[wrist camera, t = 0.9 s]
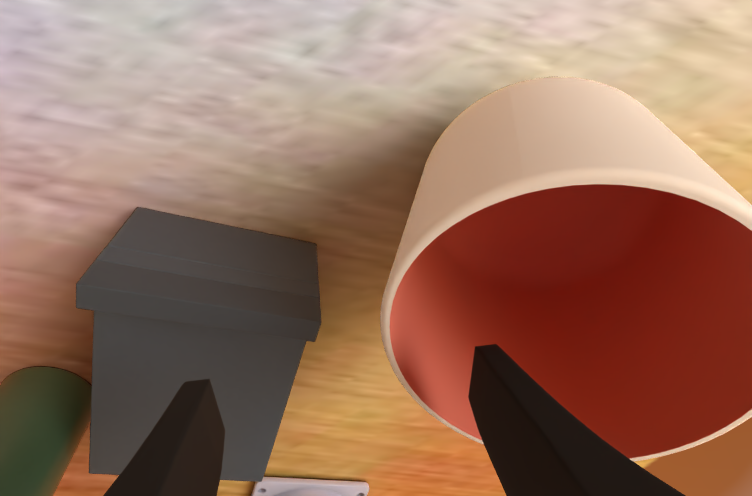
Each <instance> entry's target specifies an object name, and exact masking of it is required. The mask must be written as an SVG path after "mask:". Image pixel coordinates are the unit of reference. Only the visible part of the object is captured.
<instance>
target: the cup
mask: <svg viewBox="0 0 752 496" xmlns="http://www.w3.org/2000/svg"><path fill="white" fill-rule="evenodd" d="M380 323H381V335H382V341H383V345H384V349H385V352H386V354H387V357H388V359H389V362H390V364H391V366H392V369H393V371H394V372H395V374H396V376H397V378H398V379H399V381H400V382H401V384H402V385H403V386H404V388H405V389H406V390H407V392H408V393H409V394H410V395H411V396H412V397H413V398H414V399H415V400H416V402H417V403H418V404H419V405H421V406H422V407H423V408H424V409H425V410H426V411H427V412H428V413H430V414H431V415H432V416H433V417H435V418H436V419H438V420H439V421H440V422H442V423H443V424H445V425H446V426H448V427H450V428H451V429H453V430H454V431H456V432H458V433H460V434H462V435H464V436H466V437H468V438H470V439H472V440H474V441H476V442H479V443H481V444H483V445H484V443H483V441H482V438H481V436H480V434H479V431H478V428H477V424H476V421H475V418H474V415H473V412H472V408H471V405H470V402H469V398H468V395H469V388H470V380H471V373H472V365H473V358H474V350H475V346H483V345H491V344H497V345H498V346H499V347H500V348H501V349H502V350H503V351H504V352H505V353H506V354H507V355H508V356H510V357H511V358H512V359H513V360H514V361H515V362H516V363H517V364H518V365H519V366H520V367H521V368H522V369H523V370H524V371H525V372H526V373H527V374H528V375H529V376H530V377H531V378H532V379H533V380H534V381H535V382H536V383H538V384H539V385H540V386H541V387H542V388H543V389H544V390H545V391H546V392H547V393H548V394H550V395H551V396H552V397H553V398H554V399H555V400H556V401H557V402H558V403H560V404H561V405H562V406H563V407H564V408H565V409H566V410H568V411H569V412H570V413H571V414H572V415H573V416H575V417H576V418H577V419H578V420H579V421H581V422H582V423H583V424H584V425H585V426H587V427H588V428H589V429H590V430H592V431H593V432H594V433H595V434H597V435H598V436H599V437H600V438H602V439H603V440H604V441H606V442H607V443H608V444H609V445H611V446H612V447H614V448H615V449H616V450H618V451H619V452H621V453H622V454H623V455H625V456H626V457H627V458H629V459H630V460H632V461H639V460H645V459H651V458H655V457H660V456H664V455H668V454H672V453H676V452H679V451H682V450H685V449H688V448H691V447H694V446H697V445H699V444H701V443H704V442H707V441H709V440H711V439H713V438H716V437H717V436H720V435H722V434H724V433H726V432H728V431H729V430H731V429H733V428H734V427H736V426H738V425H740V424H741V423H743V422H744V421H746V420H747V419H749V418H750V417H752V205H751V204H750V203H749V202H748V201H747V200H746V199H745V198H743V197H742V196H741V195H740V194H739V193H738V192H737V191H736V190H735V189H734V188H733V187H732V186H730V185H729V184H728V183H727V182H726V181H725V180H724V179H723V178H722V177H721V176H720V175H719V174H717V173H716V172H715V171H714V170H713V169H712V168H711V167H710V166H709V165H708V164H707V163H706V162H704V161H703V160H702V159H701V158H700V157H699V156H698V155H697V154H696V153H695V152H694V151H693V150H691V149H690V148H689V147H688V146H687V145H686V144H685V143H684V142H683V141H682V140H681V139H679V138H678V137H677V136H676V135H675V134H674V133H673V132H672V131H671V130H670V129H669V128H668V127H666V126H665V125H664V124H663V123H662V122H661V121H660V120H659V119H658V118H657V117H656V116H654V115H653V114H652V113H651V112H650V111H649V110H648V109H647V108H646V107H645V106H643V105H642V104H641V103H639V102H638V101H637V100H635V99H634V98H632V97H631V96H629V95H627V94H626V93H624V92H622V91H621V90H618V89H616V88H613V87H611V86H609V85H606V84H603V83H599V82H596V81H592V80H588V79H582V78H575V77H545V78H536V79H531V80H526V81H522V82H518V83H515V84H512V85H509V86H506V87H504V88H501V89H499V90H496V91H494V92H492V93H490V94H489V95H487V96H485V97H483V98H481V99H480V100H478V101H477V102H475V103H473V104H472V105H471V106H469V107H468V108H467V109H465V110H464V111H463V112H462V113H461V114H460V115H459V116H457V117H456V118H455V119H454V120H453V121H452V123H451V124H450V125H449V126H448V127H447V128H446V129H445V131H444V132H443V133H442V134H441V136H440V137H439V139H438V140H437V142H436V143H435V145H434V147H433V149H432V151H431V153H430V155H429V157H428V159H427V162H426V165H425V168H424V171H423V174H422V177H421V180H420V183H419V186H418V189H417V192H416V195H415V198H414V201H413V204H412V207H411V210H410V213H409V217H408V220H407V223H406V226H405V229H404V232H403V235H402V238H401V241H400V244H399V247H398V251H397V254H396V257H395V260H394V263H393V266H392V269H391V272H390V275H389V278H388V281H387V285H386V288H385V291H384V294H383V299H382V304H381V315H380Z"/></svg>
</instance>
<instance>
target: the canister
mask: <svg viewBox="0 0 752 496" xmlns="http://www.w3.org/2000/svg"><path fill="white" fill-rule="evenodd" d="M91 389H92V387H91V386H90V384H89V383H87V382H86V381H85V380H84V379H82V378H81V377H79V376H77V375H75V374H73V373H71V372H68V371H65V370H62V369H58V368H52V367H30V368H25V369H22V370H19V371H16V372H14V373H12V374H11V375H9V376H8V377H7V378H5V379H4V381H3V382H2V383H1V384H0V496H53V495H54V493H55V491H56V489H57V487H58V485H59V483H60V481H61V479H62V477H63V475H64V473H65V471H66V469H67V467H68V465H69V463H70V461H71V459H72V457H73V455H74V453H75V451H76V449H77V447H78V445H79V443H80V441H81V439H82V437H83V435H84V433H85V431H86V429H87V427H88V425H89V423H90V421H91Z"/></svg>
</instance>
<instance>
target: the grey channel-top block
mask: <svg viewBox="0 0 752 496" xmlns="http://www.w3.org/2000/svg"><path fill="white" fill-rule="evenodd" d="M76 308H80V309H87V310H94V324H93V357H92V389H91V422H90V454H89V473H92V474H112V475H120V474H121V472H122V471H123V470H124V469H125V467H126V466H127V465H128V463H129V462H130V460H131V459H132V458H133V456H134V455H135V453H136V452H137V451H138V449H139V448H140V446H141V445H142V444H143V442H144V441H145V439H146V438H147V437H148V435H149V434H150V432H151V431H152V429H153V428H154V426H155V425H156V423H157V422H158V421H159V419H160V418H161V416H162V415H163V413H164V412H165V410H166V409H167V407H168V405H169V404H170V402H171V401H172V399H173V398H174V396H175V395H176V393H177V392H178V390H179V389H180V387H181V385H182V384H183V383H184V382H187V381H195V380H203V379H210V382H211V385H212V388H213V392H214V395H215V398H216V401H217V405H218V408H219V411H220V414H221V418H222V421H223V424H224V428H225V440H224V452H223V461H222V471H221V476H220V480H235V481H256V482H262V480H263V477H264V474H265V470H266V467H267V464H268V461H269V458H270V455H271V451H272V448H273V445H274V442H275V439H276V436H277V432H278V429H279V426H280V423H281V420H282V417H283V413H284V410H285V407H286V404H287V401H288V398H289V394H290V391H291V388H292V385H293V382H294V379H295V375H296V372H297V369H298V366H299V363H300V360H301V356H302V353H303V350H304V347H305V344H306V341H312V342H315V340H316V337H317V334H318V331H319V328H320V325H321V309H320V293H319V280H318V263H317V247H316V244H315V243H310V242H305V241H300V240H295V239H291V238H286V237H281V236H276V235H271V234H266V233H262V232H257V231H252V230H247V229H242V228H237V227H233V226H228V225H223V224H218V223H213V222H208V221H204V220H199V219H194V218H189V217H184V216H179V215H175V214H170V213H165V212H160V211H155V210H150V209H146V208H141V207H137V208H136V210H135V211H134V212H133V213H132V215H131V216H130V217H129V218H128V220H127V221H126V222H125V223H124V225H123V226H122V227H121V229H120V230H119V231H118V232H117V234H116V235H115V236H114V237H113V239H112V240H111V241H110V242H109V244H108V245H107V246H106V247H105V248H104V250H103V251H102V252H101V253H100V255H99V256H98V257H97V258H96V260H95V261H94V262H93V263H92V265H91V266H90V267H89V268H88V270H87V271H86V272H85V273H84V275H83V276H82V277H81V279H80V280H79V281H78V282H77V284H76Z"/></svg>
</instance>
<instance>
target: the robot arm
mask: <svg viewBox="0 0 752 496" xmlns="http://www.w3.org/2000/svg"><path fill="white" fill-rule="evenodd" d="M468 398H469V402H470V405H471V408H472V412H473V415H474V418H475V421H476V424H477V428H478V431H479V434H480V436H481V438H482V441H483V443H484V445H485V448H486V450H487V452H488V454H489V457H490V459H491V461H492V464H493V466H494V468H495V470H496V473H497V475H498V477H499V479H500V482H501V484H502V486H503V488H504V491H505V493H506V495H507V496H685V495H684V494H682V493H680V492H679V491H677V490H676V489H674V488H672V487H671V486H669V485H668V484H666V483H665V482H663V481H661V480H660V479H658V478H657V477H655V476H653V475H652V474H650V473H649V472H648V471H646V470H645V469H643V468H642V467H640V466H639V465H637V464H636V463H634V462H633V461H632V460H630V459H629V458H627V457H626V456H625V455H623V454H622V453H621V452H619V451H618V450H616V449H615V448H614V447H612V446H611V445H609V444H608V443H607V442H606V441H604V440H603V439H602V438H600V437H599V436H598V435H597V434H595V433H594V432H593V431H592V430H590V429H589V428H588V427H587V426H585V425H584V424H583V423H582V422H581V421H579V420H578V419H577V418H576V417H575V416H573V415H572V414H571V413H570V412H569V411H568V410H566V409H565V408H564V407H563V406H562V405H561V404H560V403H558V402H557V401H556V400H555V399H554V398H553V397H552V396H551V395H550V394H548V393H547V392H546V391H545V390H544V389H543V388H542V387H541V386H540V385H539V384H538V383H536V382H535V381H534V380H533V379H532V378H531V377H530V376H529V375H528V374H527V373H526V372H525V371H524V370H523V369H522V368H521V367H520V366H519V365H518V364H517V363H516V362H515V361H514V360H513V359H512V358H511V357H510V356H508V355H507V354H506V353H505V352H504V351H503V350H502V349H501V348H500V347H499V346H498V345H497V344H491V345H483V346H475V350H474V358H473V365H472V373H471V380H470V388H469V395H468ZM224 440H225V428H224V424H223V421H222V418H221V414H220V411H219V408H218V405H217V401H216V398H215V395H214V392H213V388H212V385H211V382H210V379H203V380H195V381H187V382H184V383H183V384H182V385H181V387H180V389H179V390H178V392H177V393H176V395H175V396H174V398H173V399H172V401H171V402H170V404H169V405H168V407H167V409H166V410H165V412H164V413H163V415H162V416H161V418H160V419H159V421H158V422H157V423H156V425H155V426H154V428H153V429H152V431H151V432H150V434H149V435H148V437H147V438H146V439H145V441H144V442H143V444H142V445H141V446H140V448H139V449H138V451H137V452H136V453H135V455H134V456H133V458H132V459H131V460H130V462H129V463H128V465H127V466H126V467H125V469H124V470H123V471H122V472H121V474H120V475H119V476H118V478H117V479H116V480H115V481H114V483H113V484H112V485H111V487H110V488H109V489H108V490H107V492H106V493H105V494H104V496H217V491H218V486H219V481H220V476H221V471H222V461H223V452H224ZM368 491H369V485H368V483H366V482H358V481H339V480H320V479H300V478H281V477H263V480H262V482H255V485H254V489H253V492H252V495H251V496H366V495H367V493H368Z"/></svg>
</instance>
